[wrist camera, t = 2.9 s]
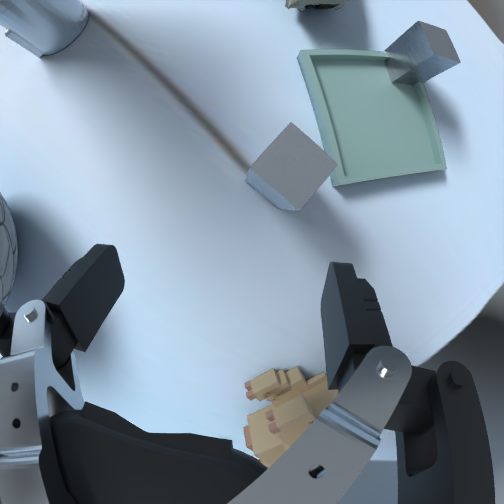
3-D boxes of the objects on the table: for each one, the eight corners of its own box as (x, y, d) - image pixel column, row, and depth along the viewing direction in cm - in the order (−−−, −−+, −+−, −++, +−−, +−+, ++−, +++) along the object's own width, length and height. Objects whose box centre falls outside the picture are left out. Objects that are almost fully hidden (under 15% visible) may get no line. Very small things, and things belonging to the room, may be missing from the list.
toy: (205, 455, 21) (291, 495, 28) (387, 362, 20) (411, 434, 27) (204, 391, 31) (279, 449, 37) (344, 312, 30) (383, 393, 36)
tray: (332, 186, 28) (339, 185, 26) (296, 58, 26) (300, 50, 24) (437, 170, 29) (447, 169, 27) (404, 60, 26) (411, 55, 24)
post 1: (277, 208, 29) (299, 210, 19) (245, 180, 28) (249, 168, 18) (305, 176, 28) (338, 164, 18) (272, 148, 27) (290, 122, 18)
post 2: (389, 84, 26) (434, 54, 17) (379, 55, 26) (418, 20, 16) (414, 87, 27) (460, 62, 17) (405, 59, 26) (445, 30, 16)
